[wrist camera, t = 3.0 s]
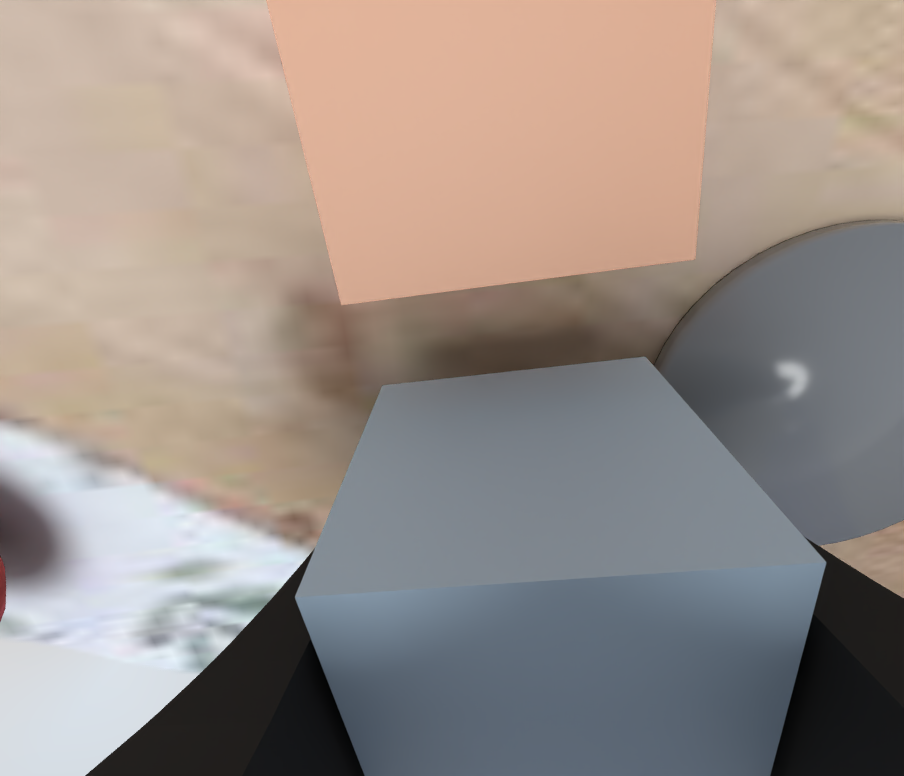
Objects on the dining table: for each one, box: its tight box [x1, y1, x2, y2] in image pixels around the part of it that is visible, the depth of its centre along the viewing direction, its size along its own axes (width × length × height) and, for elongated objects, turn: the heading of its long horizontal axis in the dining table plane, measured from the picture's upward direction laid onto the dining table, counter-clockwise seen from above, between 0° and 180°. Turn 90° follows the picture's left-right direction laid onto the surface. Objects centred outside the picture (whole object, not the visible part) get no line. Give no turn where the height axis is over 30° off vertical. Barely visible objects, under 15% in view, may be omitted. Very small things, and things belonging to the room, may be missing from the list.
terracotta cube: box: [266, 0, 716, 305], centre depth 8 cm, size 5×5×5 cm
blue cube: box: [295, 357, 826, 776], centre depth 8 cm, size 5×5×5 cm
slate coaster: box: [654, 220, 904, 545], centre depth 12 cm, size 9×9×1 cm
